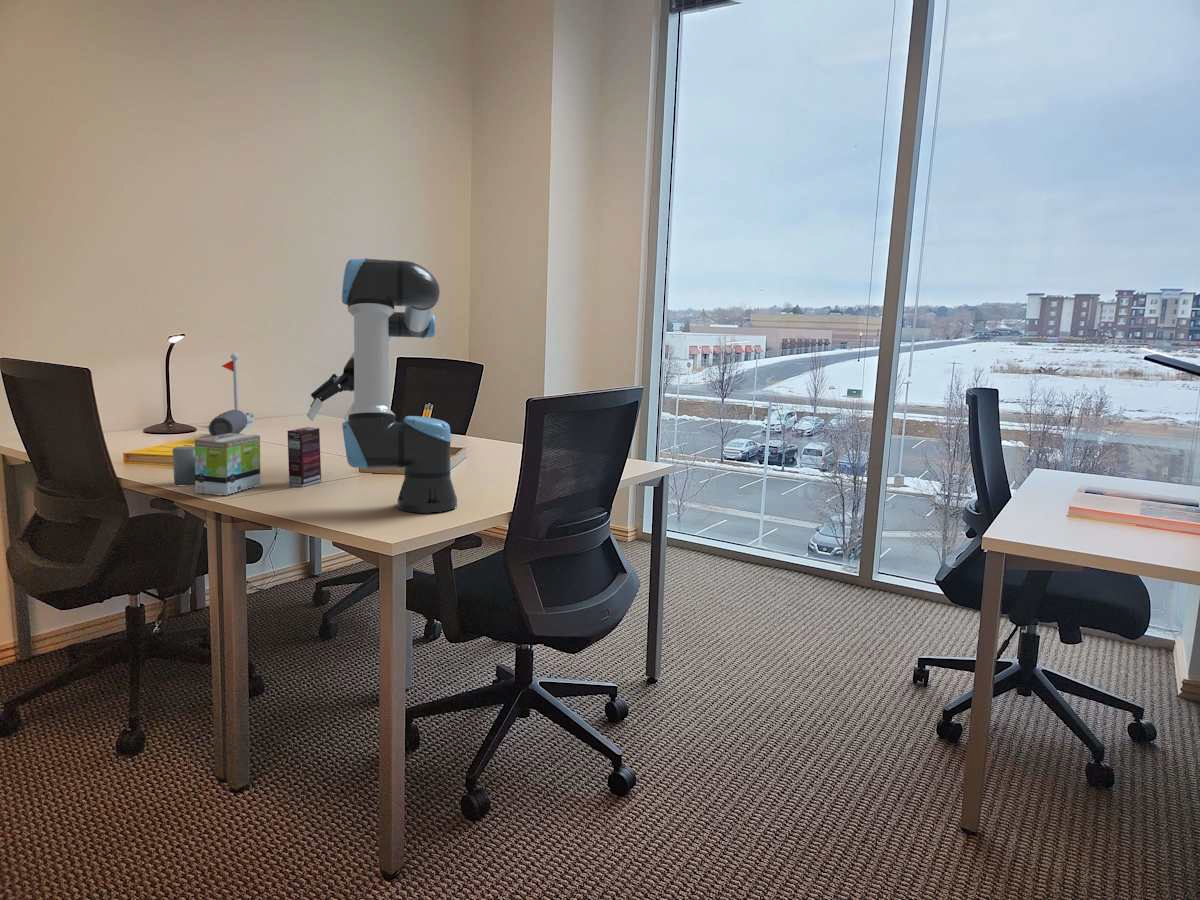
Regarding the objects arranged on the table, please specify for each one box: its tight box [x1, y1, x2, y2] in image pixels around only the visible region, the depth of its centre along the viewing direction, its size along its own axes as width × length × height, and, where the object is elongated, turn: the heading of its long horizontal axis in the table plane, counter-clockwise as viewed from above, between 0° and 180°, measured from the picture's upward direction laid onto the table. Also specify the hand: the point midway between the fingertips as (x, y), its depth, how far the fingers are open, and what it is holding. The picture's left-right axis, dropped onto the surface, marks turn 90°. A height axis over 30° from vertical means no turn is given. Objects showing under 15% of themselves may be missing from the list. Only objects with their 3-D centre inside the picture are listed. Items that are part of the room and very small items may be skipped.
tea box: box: [194, 433, 261, 496], centre depth 227 cm, size 15×10×15 cm
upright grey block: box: [172, 445, 196, 487], centre depth 232 cm, size 7×7×10 cm
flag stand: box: [218, 352, 255, 429], centre depth 336 cm, size 13×13×30 cm
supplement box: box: [287, 426, 322, 488], centre depth 237 cm, size 9×5×16 cm, turn 161°
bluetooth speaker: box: [208, 409, 247, 437], centre depth 309 cm, size 23×9×10 cm, turn 10°
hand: (328, 419), depth 245 cm, fingers open, 13 cm apart
